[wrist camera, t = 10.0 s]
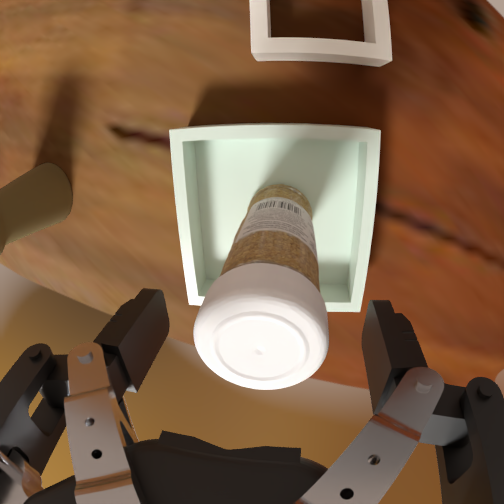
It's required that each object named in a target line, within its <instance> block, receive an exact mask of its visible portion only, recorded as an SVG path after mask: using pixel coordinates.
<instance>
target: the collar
mask: <svg viewBox="0 0 504 504" xmlns="http://www.w3.org/2000/svg"><path fill="white" fill-rule="evenodd" d="M361 2H362V13H363V25H364V40H365V42H359V41H349V40H338V39H323V38H294V37H278V38H271V20H270V0H250V26H251V54H252V55H253V56H254V58H255V59H256V60H257V61H320V62H336V63H349V64H359V65H368V66H376V67H380V66H383V65H385V64H387V63H389V62H391V61H392V47H391V32H390V21H389V11H388V2H387V0H361Z"/></svg>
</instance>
